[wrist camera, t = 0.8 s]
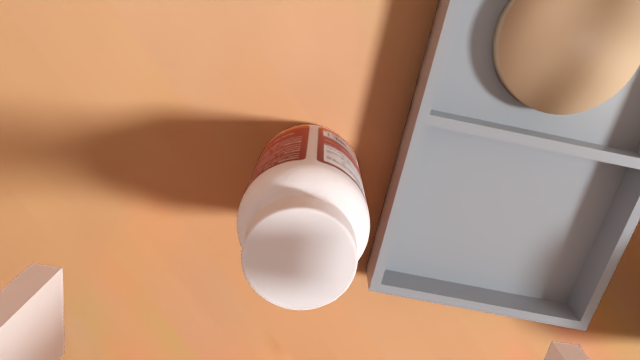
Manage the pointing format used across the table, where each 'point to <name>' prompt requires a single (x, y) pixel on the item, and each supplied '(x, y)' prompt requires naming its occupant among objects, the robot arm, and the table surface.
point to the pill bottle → (303, 219)
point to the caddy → (504, 188)
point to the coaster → (566, 51)
